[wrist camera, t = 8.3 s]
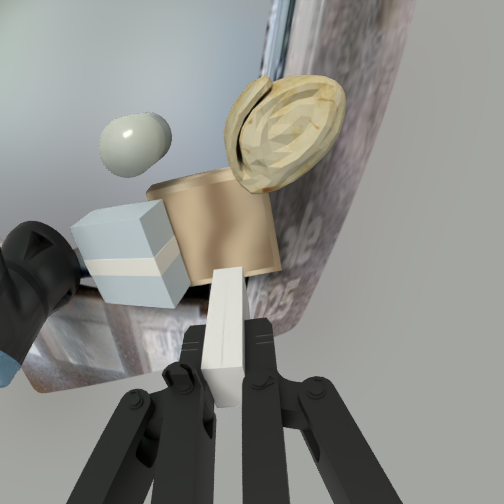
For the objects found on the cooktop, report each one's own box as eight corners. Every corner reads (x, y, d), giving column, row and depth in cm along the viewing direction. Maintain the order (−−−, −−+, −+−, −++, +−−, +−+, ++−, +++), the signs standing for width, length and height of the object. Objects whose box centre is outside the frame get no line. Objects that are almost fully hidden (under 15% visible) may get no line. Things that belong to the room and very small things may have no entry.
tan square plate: (182, 276, 44) (179, 288, 41) (151, 184, 37) (145, 192, 34) (278, 258, 43) (281, 270, 41) (261, 160, 36) (263, 166, 34)
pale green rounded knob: (134, 171, 36) (114, 187, 30) (114, 127, 33) (89, 134, 27) (180, 150, 35) (166, 162, 29) (159, 103, 32) (141, 105, 26)
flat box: (123, 281, 44) (105, 303, 40) (92, 210, 38) (69, 228, 34) (191, 283, 40) (175, 308, 36) (162, 198, 34) (139, 218, 30)
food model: (255, 158, 36) (276, 230, 19) (212, 124, 34) (186, 162, 16) (309, 100, 33) (386, 115, 15) (266, 63, 30) (303, 32, 13)
